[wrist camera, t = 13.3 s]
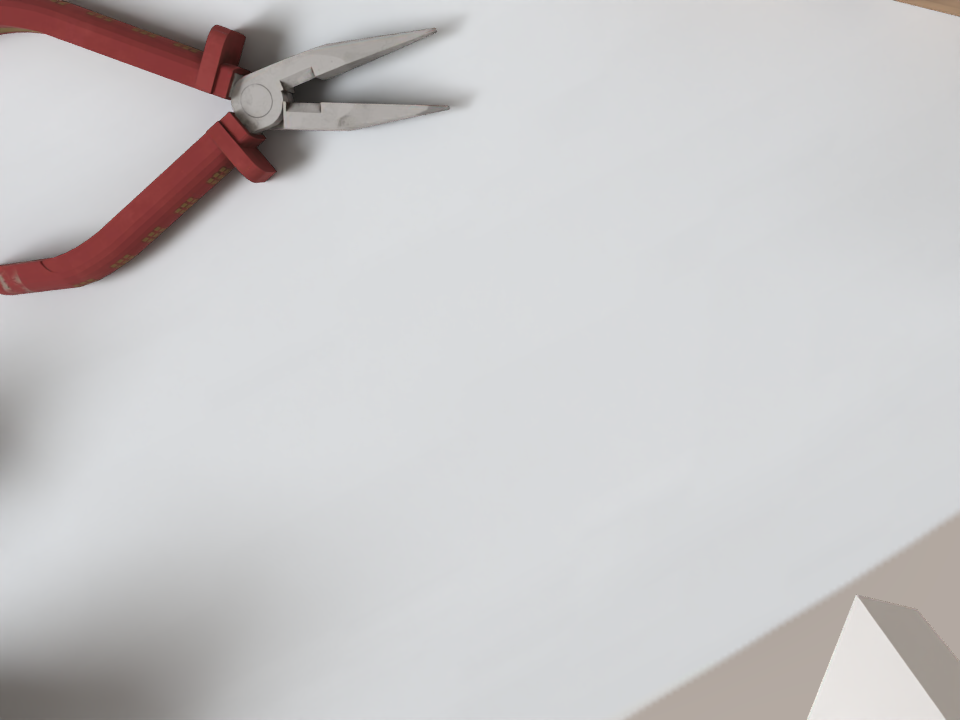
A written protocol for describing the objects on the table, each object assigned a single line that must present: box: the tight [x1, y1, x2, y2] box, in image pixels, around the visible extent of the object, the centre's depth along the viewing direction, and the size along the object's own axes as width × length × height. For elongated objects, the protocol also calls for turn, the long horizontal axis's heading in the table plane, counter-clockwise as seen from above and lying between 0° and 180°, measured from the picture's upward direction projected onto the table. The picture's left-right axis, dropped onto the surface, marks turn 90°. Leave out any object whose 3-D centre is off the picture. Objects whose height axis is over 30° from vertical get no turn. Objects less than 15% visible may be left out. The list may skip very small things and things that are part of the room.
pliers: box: [0, 0, 449, 295], centre depth 34 cm, size 12×20×3 cm, turn 100°
